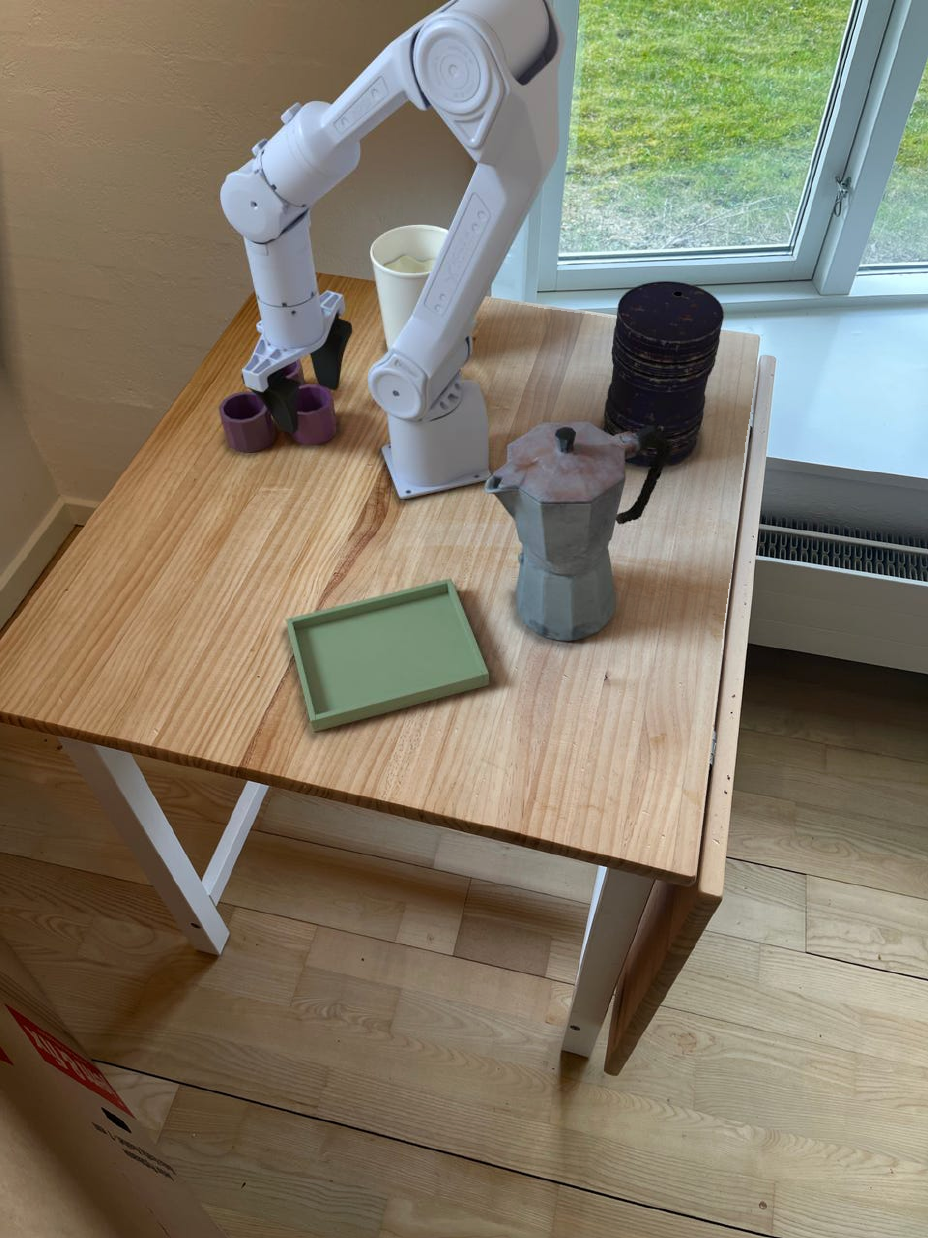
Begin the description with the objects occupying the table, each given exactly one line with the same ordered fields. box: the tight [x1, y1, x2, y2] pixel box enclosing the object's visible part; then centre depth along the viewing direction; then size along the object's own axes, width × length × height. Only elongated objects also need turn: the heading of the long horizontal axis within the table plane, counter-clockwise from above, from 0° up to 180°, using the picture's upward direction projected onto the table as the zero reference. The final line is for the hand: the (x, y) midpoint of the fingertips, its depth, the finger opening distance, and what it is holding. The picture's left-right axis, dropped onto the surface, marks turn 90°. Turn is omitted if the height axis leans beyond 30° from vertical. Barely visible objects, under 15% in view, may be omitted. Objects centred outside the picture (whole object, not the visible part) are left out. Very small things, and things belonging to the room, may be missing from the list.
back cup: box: [281, 358, 306, 386], centre depth 102 cm, size 5×5×4 cm
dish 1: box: [218, 390, 276, 453], centre depth 98 cm, size 5×5×4 cm
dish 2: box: [289, 383, 338, 446], centre depth 99 cm, size 5×5×4 cm
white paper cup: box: [369, 224, 449, 351], centre depth 105 cm, size 10×10×12 cm
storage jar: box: [602, 280, 725, 469], centre depth 93 cm, size 10×10×15 cm
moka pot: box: [483, 421, 673, 642], centre depth 77 cm, size 10×15×20 cm, turn 113°
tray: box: [285, 577, 490, 733], centre depth 81 cm, size 15×11×2 cm
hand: (308, 407), depth 98 cm, fingers open, 7 cm apart
